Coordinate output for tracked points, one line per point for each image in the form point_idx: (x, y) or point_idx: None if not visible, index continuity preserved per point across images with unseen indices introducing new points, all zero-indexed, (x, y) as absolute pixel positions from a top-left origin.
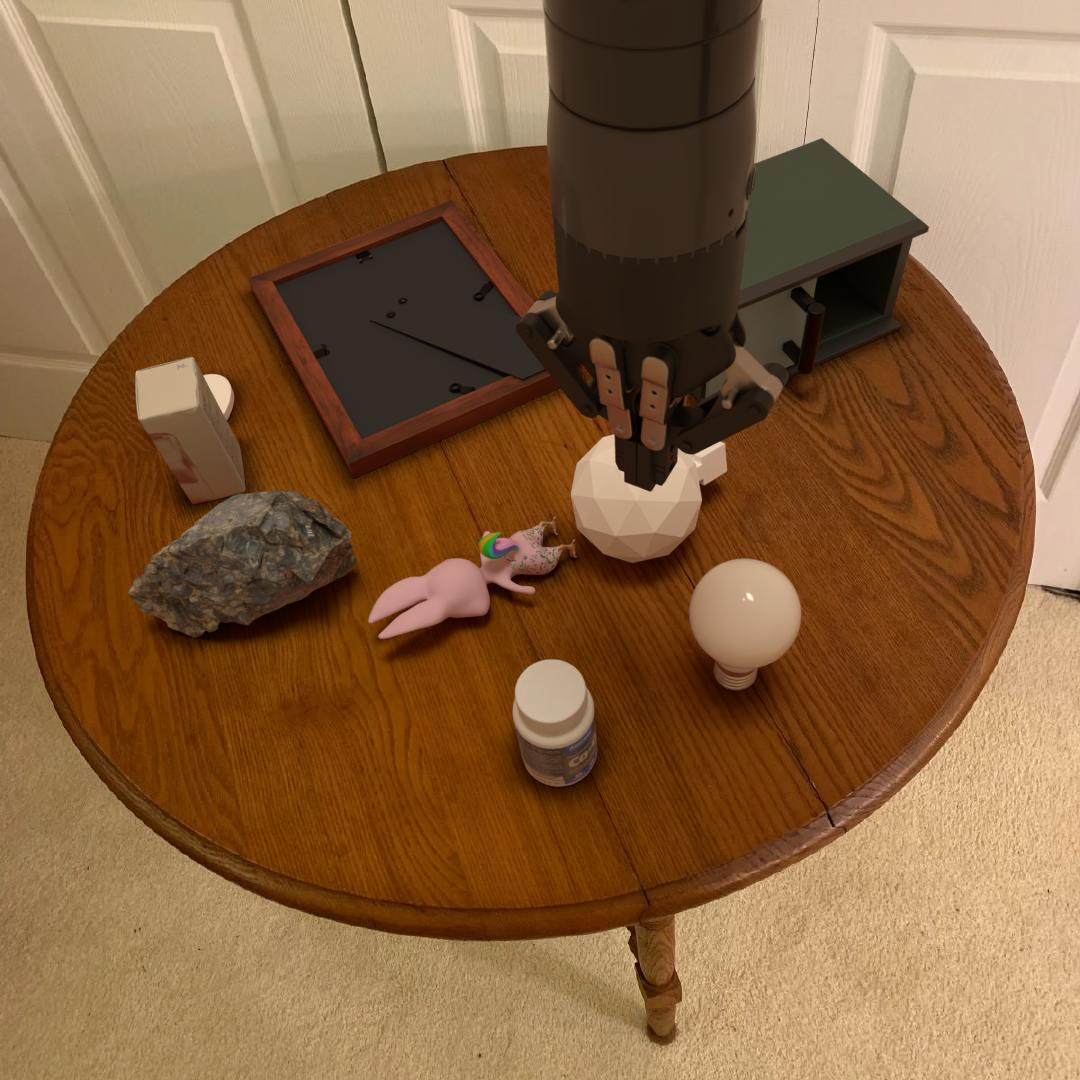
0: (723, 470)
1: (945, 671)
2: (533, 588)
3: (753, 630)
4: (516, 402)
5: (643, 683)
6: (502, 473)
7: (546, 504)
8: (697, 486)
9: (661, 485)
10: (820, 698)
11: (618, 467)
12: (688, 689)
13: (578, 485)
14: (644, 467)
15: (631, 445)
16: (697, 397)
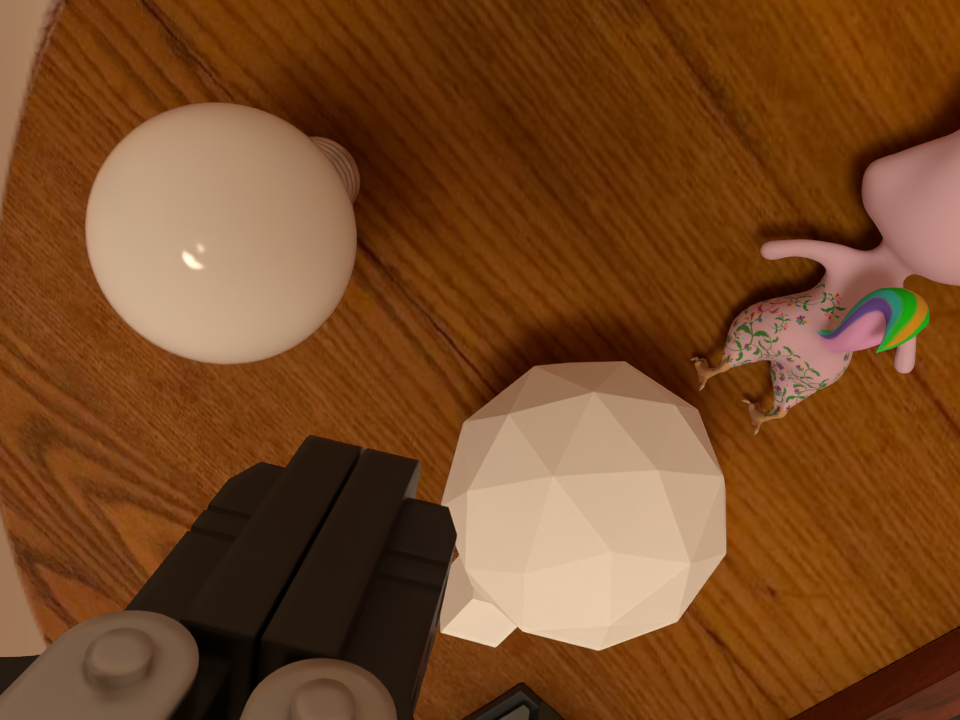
0: None
1: (16, 275)
2: (765, 254)
3: (136, 160)
4: (897, 672)
5: (487, 111)
6: (895, 517)
7: (783, 464)
8: None
9: (261, 464)
10: None
11: (447, 516)
12: (400, 123)
13: (707, 498)
14: (275, 521)
15: (296, 624)
16: (546, 709)
